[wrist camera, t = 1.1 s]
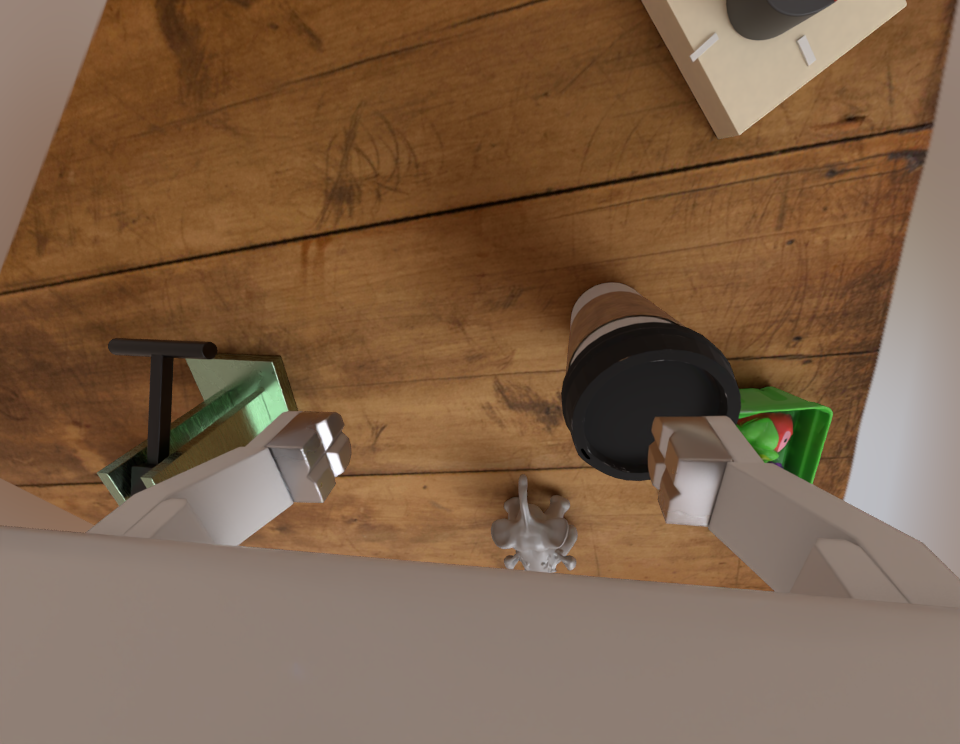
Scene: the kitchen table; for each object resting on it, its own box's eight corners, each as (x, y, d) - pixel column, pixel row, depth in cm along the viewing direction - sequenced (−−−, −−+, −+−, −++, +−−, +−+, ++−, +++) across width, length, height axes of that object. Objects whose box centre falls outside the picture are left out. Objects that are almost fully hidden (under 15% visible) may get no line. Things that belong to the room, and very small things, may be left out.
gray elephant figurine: (523, 541, 45) (519, 605, 38) (468, 474, 41) (453, 532, 35) (593, 520, 42) (603, 586, 35) (541, 445, 38) (540, 503, 31)
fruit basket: (772, 475, 35) (859, 592, 25) (671, 478, 37) (716, 587, 27) (794, 371, 30) (913, 466, 20) (676, 381, 32) (733, 472, 22)
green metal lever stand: (195, 351, 39) (40, 431, 27) (280, 355, 38) (157, 441, 26) (234, 441, 45) (120, 539, 33) (309, 448, 43) (219, 553, 31)
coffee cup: (536, 304, 31) (529, 400, 18) (631, 243, 28) (708, 305, 15) (587, 378, 33) (614, 509, 20) (680, 330, 30) (784, 450, 17)
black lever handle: (132, 339, 33) (101, 336, 30) (222, 343, 31) (197, 340, 29) (127, 487, 33) (94, 496, 30) (216, 497, 31) (190, 507, 29)
